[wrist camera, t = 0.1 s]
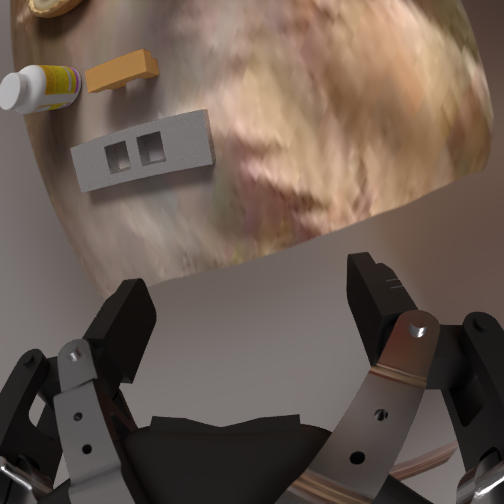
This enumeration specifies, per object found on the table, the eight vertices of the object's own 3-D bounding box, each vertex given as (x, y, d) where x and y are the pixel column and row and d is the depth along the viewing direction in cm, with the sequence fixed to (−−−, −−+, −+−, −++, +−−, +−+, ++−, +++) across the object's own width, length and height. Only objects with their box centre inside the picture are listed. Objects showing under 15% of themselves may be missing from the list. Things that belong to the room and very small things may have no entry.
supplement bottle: (67, 59, 29) (11, 55, 17) (90, 81, 31) (33, 81, 20) (44, 93, 31) (-12, 100, 20) (65, 116, 33) (8, 128, 22)
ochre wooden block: (108, 74, 31) (85, 71, 25) (160, 56, 30) (143, 48, 24) (111, 92, 32) (88, 92, 26) (163, 76, 31) (146, 71, 26)
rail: (80, 144, 35) (70, 148, 33) (207, 109, 34) (203, 109, 31) (91, 187, 39) (81, 193, 36) (216, 160, 37) (212, 164, 34)
